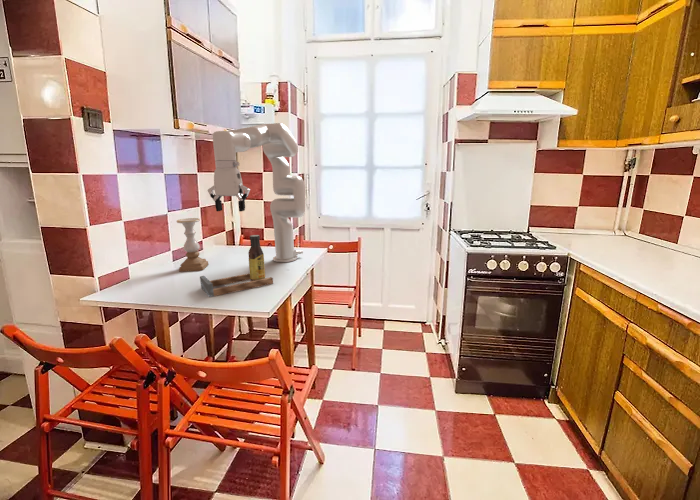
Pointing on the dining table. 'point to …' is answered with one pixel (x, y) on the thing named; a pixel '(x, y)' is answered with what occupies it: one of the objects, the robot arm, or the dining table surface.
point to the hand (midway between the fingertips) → (230, 211)
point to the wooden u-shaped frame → (219, 286)
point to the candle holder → (191, 248)
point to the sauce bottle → (256, 259)
